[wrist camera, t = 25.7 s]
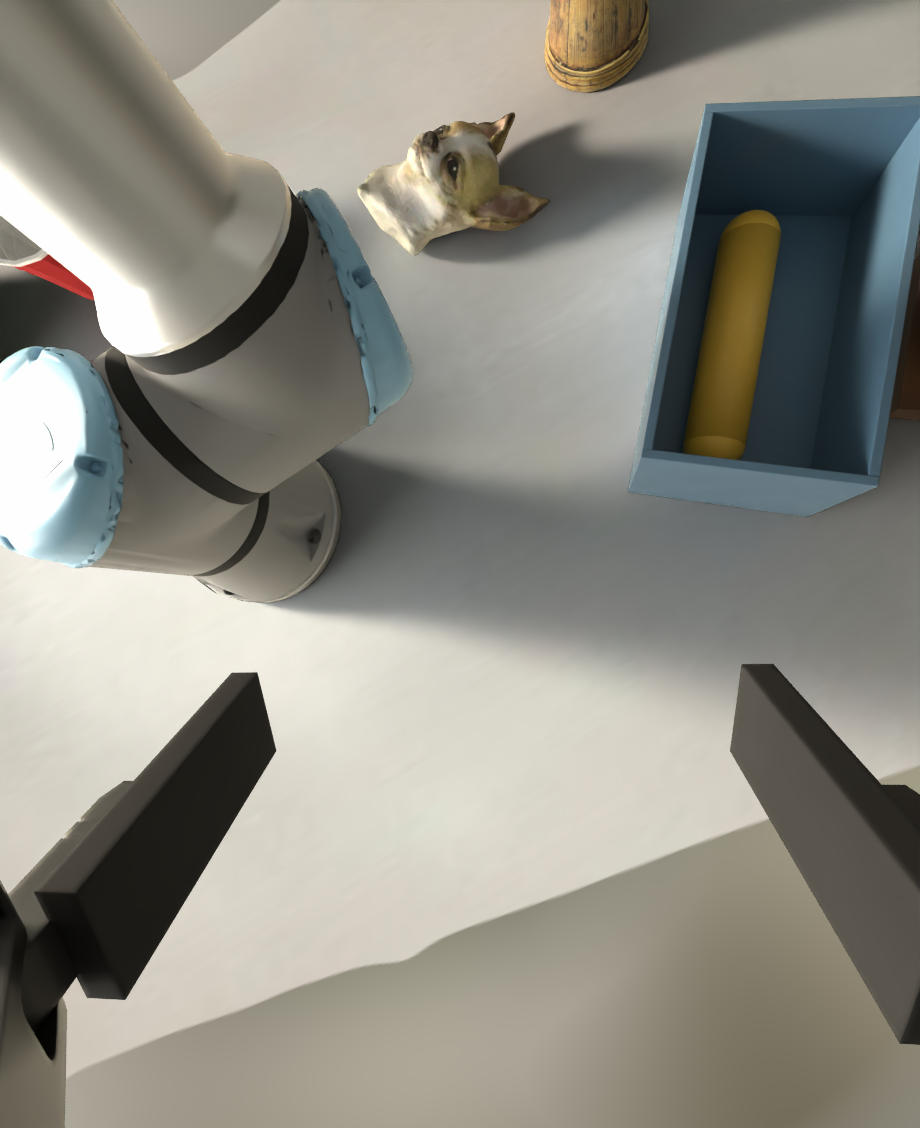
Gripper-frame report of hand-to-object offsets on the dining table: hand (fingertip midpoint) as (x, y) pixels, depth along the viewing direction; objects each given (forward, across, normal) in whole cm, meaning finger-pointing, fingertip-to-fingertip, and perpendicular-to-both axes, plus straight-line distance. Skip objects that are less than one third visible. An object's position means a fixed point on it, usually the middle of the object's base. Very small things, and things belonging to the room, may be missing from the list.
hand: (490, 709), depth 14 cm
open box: (+34, +19, +8) cm, 40 cm away
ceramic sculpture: (+45, -3, +22) cm, 50 cm away
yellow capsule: (+32, +18, +9) cm, 38 cm away
